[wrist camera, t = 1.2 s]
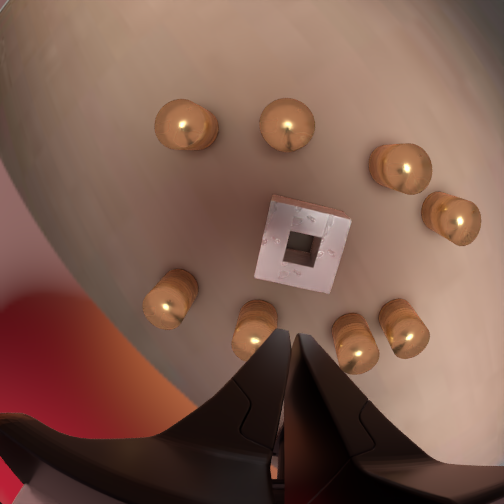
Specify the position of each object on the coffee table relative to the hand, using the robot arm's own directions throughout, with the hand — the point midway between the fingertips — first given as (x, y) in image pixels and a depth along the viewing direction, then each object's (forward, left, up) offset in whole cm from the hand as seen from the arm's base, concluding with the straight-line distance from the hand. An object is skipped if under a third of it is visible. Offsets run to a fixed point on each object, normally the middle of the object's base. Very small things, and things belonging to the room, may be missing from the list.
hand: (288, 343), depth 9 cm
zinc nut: (0, -1, -13) cm, 13 cm away
